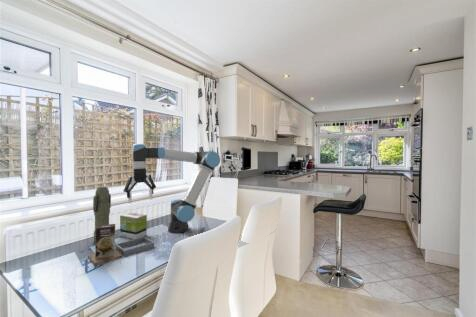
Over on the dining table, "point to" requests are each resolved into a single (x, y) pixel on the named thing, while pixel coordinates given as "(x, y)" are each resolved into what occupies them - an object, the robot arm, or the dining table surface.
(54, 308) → the dining table surface
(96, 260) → the board
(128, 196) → the robot arm
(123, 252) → the bin
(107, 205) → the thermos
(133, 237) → the tea box
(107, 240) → the coffee box
